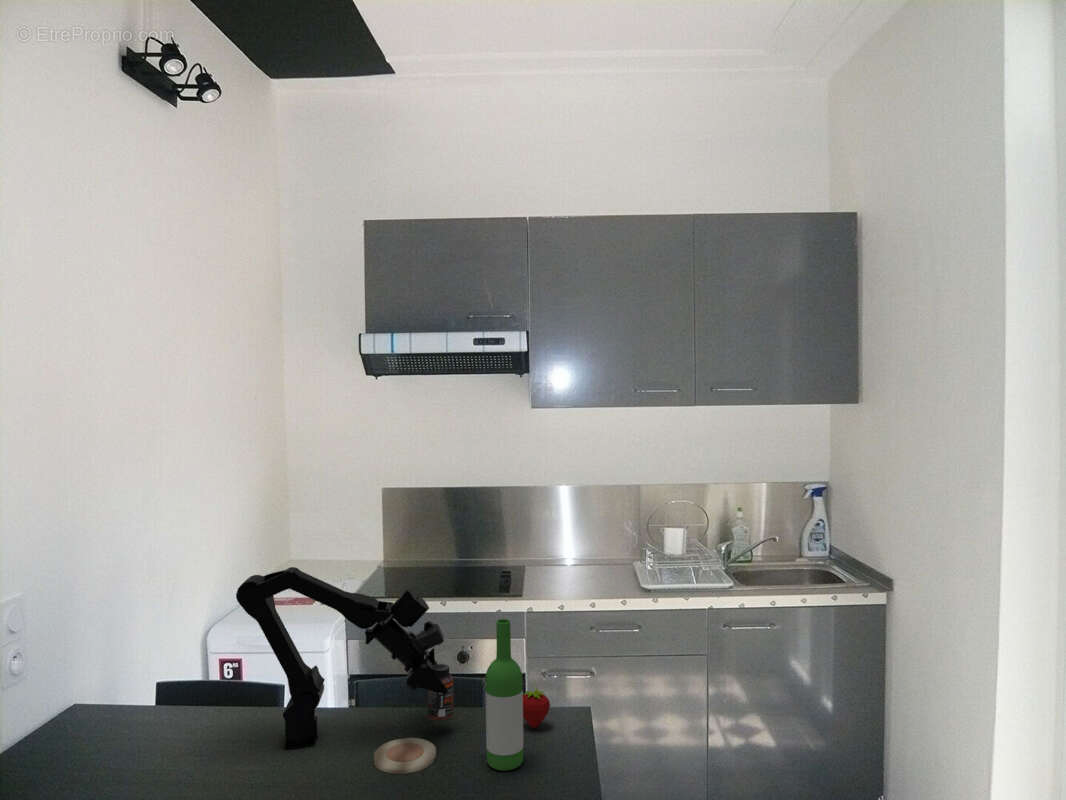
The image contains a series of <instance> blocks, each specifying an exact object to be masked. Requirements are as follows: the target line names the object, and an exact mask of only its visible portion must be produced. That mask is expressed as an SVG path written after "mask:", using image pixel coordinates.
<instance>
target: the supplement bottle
mask: <svg viewBox="0 0 1066 800" xmlns="http://www.w3.org/2000/svg"><path fill="white" fill-rule="evenodd" d="M435 674H436V675H437V676H438V677H439V679H440V680H441V681H442V683H443V684H444V685H445V687H446V688H447V689H448V692H447V693H446V694H442V693H438V692H435V691H431V690H427V689H426V691H427V695H426V696H427V699H426V702H427V704H426V705H427V707H426V708H427V709H426V710H427V717H428V718H429V719H430V720H433V721H446V720H448V719H449V720H450V719H451V718H452V717H453V715H454V677H453V675H452V674H451V673H450V666H449V665H448V664H444V663H437V665H435Z"/></svg>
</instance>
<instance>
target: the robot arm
mask: <svg viewBox="0 0 1066 800" xmlns="http://www.w3.org/2000/svg"><path fill="white" fill-rule="evenodd" d="M287 590H291V591H294V592H296V593H298V594H300V595H302V596H305V597H307V598H309V599H312V600H313V601H316V602H318V603H320V604H322V605H324V606H326V607H329V608H331V609H334V610H336V611H337V612H338V613H340V614H341V615H342V617H344V618H345V619H346V620H347V621H349V622H350V623H352V624H353V625H354V626H356V627H357V628H359V629H362V630H365V631H364V634H365V644H366V645H369V644H370V643H371V642H372V641H373V640H374V639H375V641H377V642H378V643H379V644H380V645H381V646H382V647H383V648H385V650H387V652H389V653H390V654H391V655H390V658H391V659H392V660H393V661H396V660H397V661H398V662H400V663H401V665H403V666H404V668H403V670H404V671H405V672H406V673H407V674H406V687H408V688H409V690H411V691H412V692H414V691H416V690H417V689H418V688H419V689H424V690H426V691H427V690H431V691H435V692H438V693H442V694H446V693H447V692H448V689H447V688H446V687H445V685H444V684H443V683H442V681H441V680H440V679H439V677H438V676H437V675H436V674H435V665H437V664H438V662H437V661H436V659H435V658H436V657H435V646H437V645H438V646H440V645H441V644H443V643H444V641H445V640H444V637H445V636H444V634H443V632H442V630H441V627H440V625H439V624H437V623H435V624H434V623H433V622H432V621H430V620H428V621H426V622H424V624H423V630H421V631H420V632H419V633H418V634H415V633H414V632H413V631H409V632H408V631H406V629H404V628H408V627H409V628H412V627H413V626H414V625H415V624H416V623H417V622H418V621H419V620H420V619H421V618H422V616H424V615H425V613H427V612H428V611H429V609H430V606H429V605H428V603H427V602H426V601H425V600H424V598H423V597H422V596H421V595H419V594H417V593H416V592H415V591H411V589H409V588H406V589H405V590H404V591H403V592H402V593H401V595H400V596H399V597H398V598H397V599H396V600H395V601H394V602H393V601H381V600H378V599H377V598H376V597H373V596H370V595H367V594H363V593H359V592H358V593H356V592H349V591H345V590H344V589H341V588H338V587H337V586H334V585H332V584H330V583H329V582H326V581H323V580H321V579H319V578H317V577H315V576H313V575H310V574H308V573H307V572H304V571H302V570H300V568H298V567H295V566H291V567H288V568H286V569H283V570H279V571H275V572H272V573H268V574H264V575H260V574H253V575H250V576H249V577H247V579H245V580H244V581H243V582H242V583H241V584H240V585H239V586H238V587H237V591H236V594H235V597H236V601H237V602H238V605H240V606H241V608H242V610H244V612H245V613H246V614H247V615H248V616H250V617H251V618H253V620H255V621H256V623H257V624H258V626H259V627H260V629H261V631H262V632H263V635H264V637H265V638H266V640H267V643H268V645H269V646H270V647H271V650H272V651H273V654H274V655H275V658H276V659H277V660H278V663H279V664H280V667H281V668H282V670H283V672H284V674H285V675H286V678H287V684H288V691H289V694H290V698H289V701H288V702H287V704H286V706H285V709H284V710H283V713H282V716H283V719H284V736H285V737H284V739H285V740H284V745H283V746H284V750H291V749H297V748H306V747H312V746H313V747H314V746H315V745H316V740H317V739H318V738H319V735H318V734H319V731H318V730H319V724H318V723H319V722H318V721H319V719H318V715H315V714H316V709H317V708H318V706H319V704H320V702H321V699H322V698H323V697H322V696H323V694H324V690H325V684H324V683H325V678H324V677H323V675H321V673H320V671H319V668H318V666H317V665H314V666H313V667H312V668H311V667H310V666H308V664H306V662H305V661H304V660H303V658H302V655H301V654H300V652H299V650H298V648H297V646H296V644H295V642H294V641H293V639H292V637H291V635H290V633H289V632H288V630H287V628H286V626H285V623H284V622H283V620H282V619H281V617H280V615H279V613H278V611H277V609H276V604H275V597H274V596H275V595H278V594H280V593H282V592H284V591H287ZM429 649H431V650H430V651H429Z"/></svg>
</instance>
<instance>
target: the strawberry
mask: <svg viewBox="0 0 1066 800" xmlns="http://www.w3.org/2000/svg"><path fill="white" fill-rule="evenodd" d="M534 686H535V689H534V690H533V691H528V690H525V691H524V692H523V720H525V721H526V722H527V723H528V724H529V726H530V728H532V729H536V728H538V727H539V725H540V724H541V723H542V722H543V721H544V720H545V718H546V717H547V716H548V714H549V711H550V707H551V703H550V699H549V698H548V697H547V696H546V694H544V693H545V692H544V691H541V690H539V688H537V684H536V683H534Z"/></svg>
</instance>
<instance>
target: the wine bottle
mask: <svg viewBox="0 0 1066 800" xmlns="http://www.w3.org/2000/svg"><path fill="white" fill-rule="evenodd" d="M495 626H496V657H495V659H494V660H492V662H491V663H490V664H489V666H488V667H487V670H486V673H485V728H486V729H485V730H486V731H485V733H486V734H485V737H486V739H485V740H486V741H485V742H486V744H485V746H486V762H487V764H488V766H489V767H491V768H492V769H495V770H497V771H512V770H514V769H517V768H518V767H520V766H521V765H522V763H523V760H524V718H523V695H524V694H523V693H524V691H523V690H524V689H523V672H522V670H521V669H522V668H521V667H520V665H519V664H518V662H517V661H516V660H514V659H513V658H512V648H511V645H512V644H511V643H512V640H511V639H512V638H511V637H512V636H511V633H512V632H511V620H510V619H508V618H499V619H497V620H496V625H495Z"/></svg>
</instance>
